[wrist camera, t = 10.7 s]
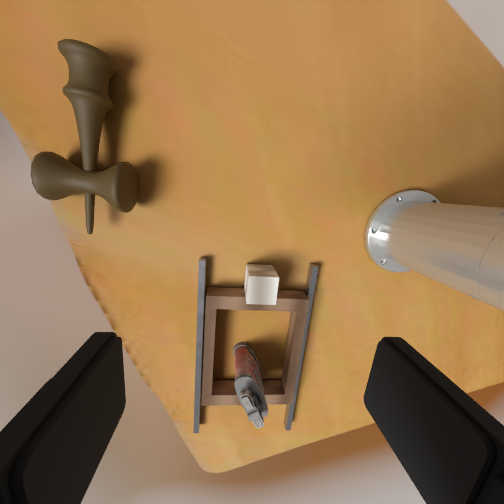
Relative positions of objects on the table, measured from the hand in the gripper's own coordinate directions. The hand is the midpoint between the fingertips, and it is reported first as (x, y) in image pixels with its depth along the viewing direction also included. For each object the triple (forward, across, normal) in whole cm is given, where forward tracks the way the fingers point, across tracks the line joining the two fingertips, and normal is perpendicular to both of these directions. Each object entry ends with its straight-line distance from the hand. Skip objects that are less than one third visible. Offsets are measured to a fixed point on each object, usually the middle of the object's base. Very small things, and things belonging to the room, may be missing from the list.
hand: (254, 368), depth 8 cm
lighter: (+26, -4, +22) cm, 35 cm away
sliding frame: (+26, -4, +16) cm, 31 cm away
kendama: (+27, +18, -9) cm, 33 cm away
